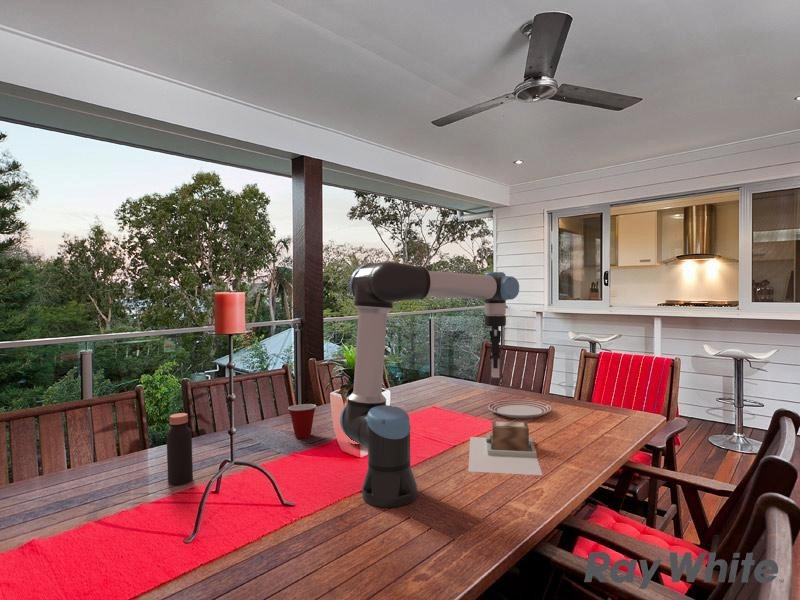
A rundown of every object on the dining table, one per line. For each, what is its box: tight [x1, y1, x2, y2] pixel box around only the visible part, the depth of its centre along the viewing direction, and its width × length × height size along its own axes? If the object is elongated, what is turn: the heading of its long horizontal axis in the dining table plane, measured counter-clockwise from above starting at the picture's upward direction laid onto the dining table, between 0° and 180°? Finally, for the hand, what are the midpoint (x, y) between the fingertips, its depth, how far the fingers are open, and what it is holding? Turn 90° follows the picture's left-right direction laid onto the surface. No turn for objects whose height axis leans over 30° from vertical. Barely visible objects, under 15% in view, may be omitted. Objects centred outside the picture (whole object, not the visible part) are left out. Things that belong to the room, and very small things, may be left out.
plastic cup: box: [287, 403, 317, 440], centre depth 176 cm, size 11×11×12 cm
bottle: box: [166, 412, 194, 487], centre depth 137 cm, size 7×7×20 cm
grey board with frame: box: [467, 433, 543, 476], centre depth 154 cm, size 22×32×3 cm
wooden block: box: [491, 420, 530, 451], centre depth 160 cm, size 12×7×8 cm, turn 80°
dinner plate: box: [487, 399, 553, 420], centre depth 204 cm, size 28×27×3 cm
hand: (495, 373), depth 165 cm, fingers open, 13 cm apart
